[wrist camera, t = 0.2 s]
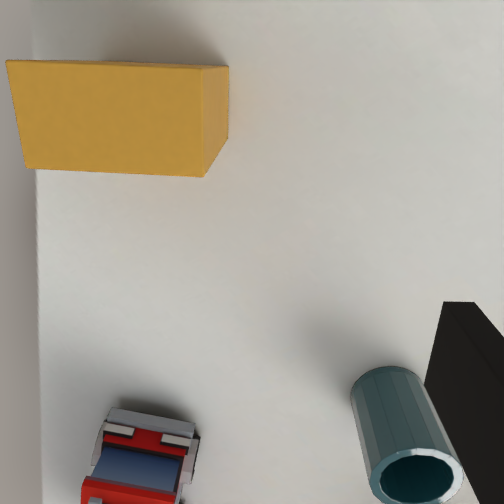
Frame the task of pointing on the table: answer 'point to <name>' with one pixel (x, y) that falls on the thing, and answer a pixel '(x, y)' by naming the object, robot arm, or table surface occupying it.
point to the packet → (120, 115)
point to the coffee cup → (403, 439)
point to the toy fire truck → (140, 460)
